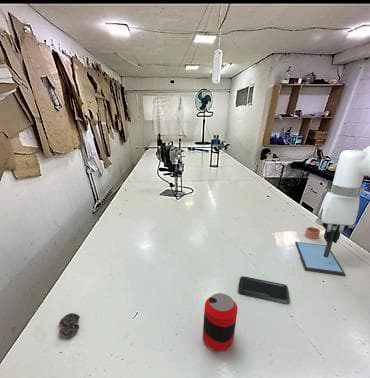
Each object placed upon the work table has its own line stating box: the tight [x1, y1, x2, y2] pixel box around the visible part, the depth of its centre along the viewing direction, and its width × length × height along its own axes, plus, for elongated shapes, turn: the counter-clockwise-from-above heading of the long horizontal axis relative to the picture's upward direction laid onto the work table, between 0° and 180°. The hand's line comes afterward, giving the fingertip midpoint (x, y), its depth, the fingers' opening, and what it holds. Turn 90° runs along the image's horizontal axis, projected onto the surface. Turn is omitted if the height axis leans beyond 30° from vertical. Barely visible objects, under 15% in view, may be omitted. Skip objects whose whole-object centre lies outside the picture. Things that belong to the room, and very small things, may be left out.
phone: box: [237, 275, 290, 304], centre depth 75 cm, size 8×1×15 cm
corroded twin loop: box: [58, 312, 81, 339], centre depth 61 cm, size 5×8×1 cm, turn 23°
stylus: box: [323, 225, 337, 258], centre depth 83 cm, size 2×2×12 cm
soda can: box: [202, 292, 239, 352], centre depth 57 cm, size 8×8×12 cm
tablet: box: [294, 241, 346, 277], centre depth 93 cm, size 13×20×1 cm, turn 166°
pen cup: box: [304, 226, 321, 241], centre depth 107 cm, size 6×6×4 cm
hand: (330, 240), depth 83 cm, fingers closed on stylus, 1 cm apart
